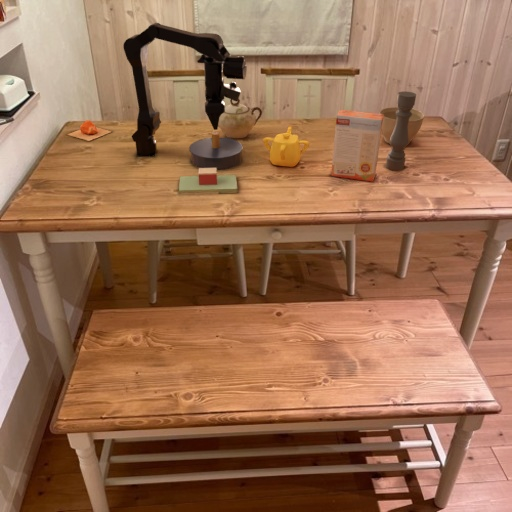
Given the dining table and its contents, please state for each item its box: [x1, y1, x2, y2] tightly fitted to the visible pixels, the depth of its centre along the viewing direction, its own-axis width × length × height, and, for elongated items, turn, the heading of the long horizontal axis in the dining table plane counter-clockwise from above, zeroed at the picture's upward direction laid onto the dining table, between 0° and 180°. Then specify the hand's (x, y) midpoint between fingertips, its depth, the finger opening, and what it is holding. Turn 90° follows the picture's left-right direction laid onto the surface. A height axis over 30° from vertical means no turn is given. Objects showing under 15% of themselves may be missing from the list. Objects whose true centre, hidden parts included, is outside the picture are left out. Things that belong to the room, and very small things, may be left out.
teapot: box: [262, 125, 310, 168], centre depth 178 cm, size 14×13×10 cm
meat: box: [198, 167, 218, 185], centre depth 162 cm, size 6×4×4 cm
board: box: [178, 174, 238, 194], centre depth 164 cm, size 18×10×2 cm, turn 94°
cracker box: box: [330, 109, 384, 183], centre depth 166 cm, size 14×6×21 cm, turn 71°
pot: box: [190, 150, 243, 171], centre depth 180 cm, size 17×17×4 cm
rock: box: [66, 120, 113, 142], centre depth 200 cm, size 12×12×4 cm
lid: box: [188, 131, 244, 159], centre depth 177 cm, size 18×18×6 cm
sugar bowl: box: [218, 98, 263, 139], centre depth 197 cm, size 20×15×15 cm
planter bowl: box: [379, 106, 425, 145], centre depth 194 cm, size 16×16×11 cm
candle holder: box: [385, 91, 417, 172], centre depth 171 cm, size 6×6×25 cm
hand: (215, 124), depth 174 cm, fingers open, 9 cm apart
